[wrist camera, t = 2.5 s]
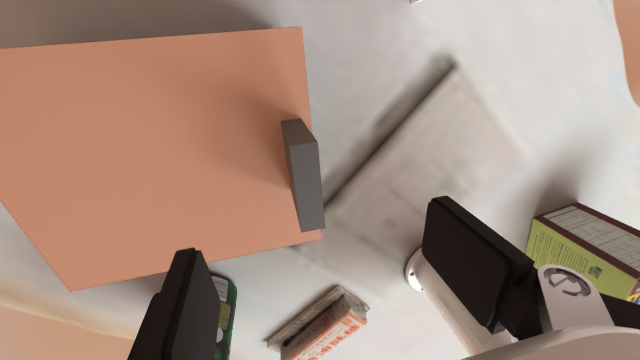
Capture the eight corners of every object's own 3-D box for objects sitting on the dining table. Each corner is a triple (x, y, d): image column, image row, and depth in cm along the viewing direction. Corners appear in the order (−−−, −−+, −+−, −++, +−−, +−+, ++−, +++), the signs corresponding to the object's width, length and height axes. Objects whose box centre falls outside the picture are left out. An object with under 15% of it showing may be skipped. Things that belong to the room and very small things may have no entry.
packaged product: (345, 304, 41) (378, 326, 46) (337, 281, 46) (368, 303, 50) (266, 367, 44) (305, 381, 48) (265, 339, 48) (301, 355, 53)
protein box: (519, 272, 56) (603, 342, 43) (532, 217, 49) (638, 280, 35) (561, 256, 57) (656, 320, 43) (579, 200, 50) (700, 256, 36)
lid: (299, 27, 18) (321, 14, 12) (319, 232, 26) (339, 287, 20) (-88, 56, 14) (-345, 59, 8) (77, 282, 23) (9, 367, 16)
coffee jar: (214, 321, 43) (188, 486, 26) (166, 307, 39) (101, 488, 23) (246, 282, 40) (239, 436, 24) (198, 264, 37) (152, 430, 21)
